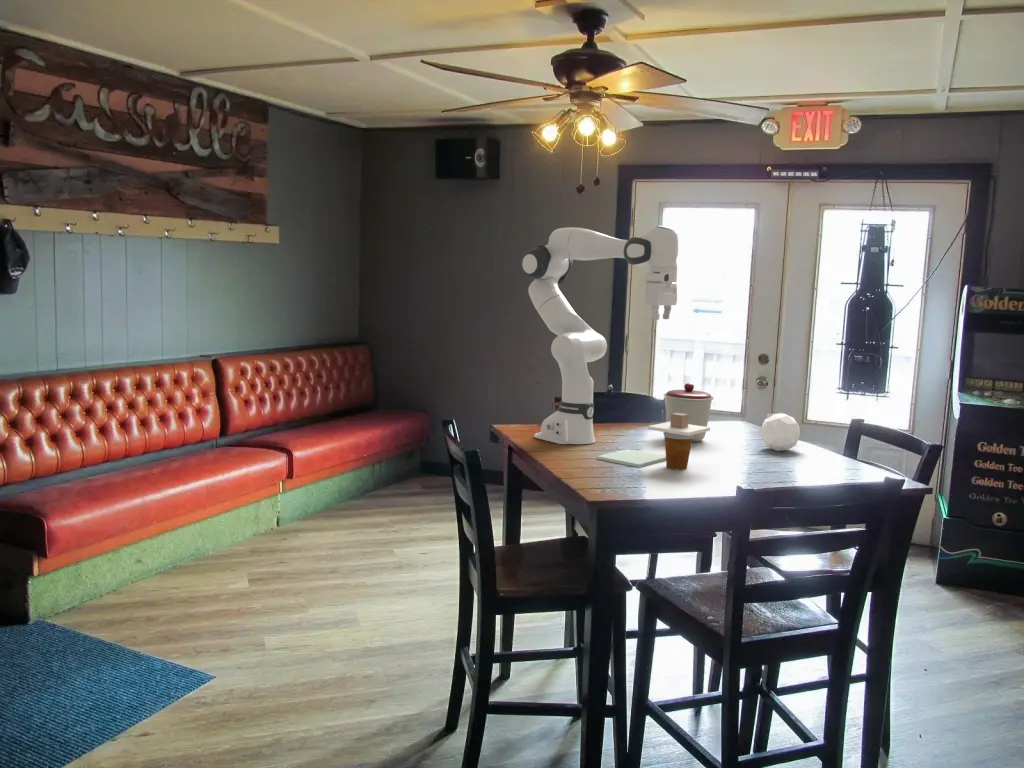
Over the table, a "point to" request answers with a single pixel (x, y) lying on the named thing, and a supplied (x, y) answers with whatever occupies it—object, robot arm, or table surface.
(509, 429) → the table surface
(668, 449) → the disposable coffee cup
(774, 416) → the geodesic sphere
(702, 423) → the canister
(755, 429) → the table surface
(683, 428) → the cover
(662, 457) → the mat
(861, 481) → the table surface
